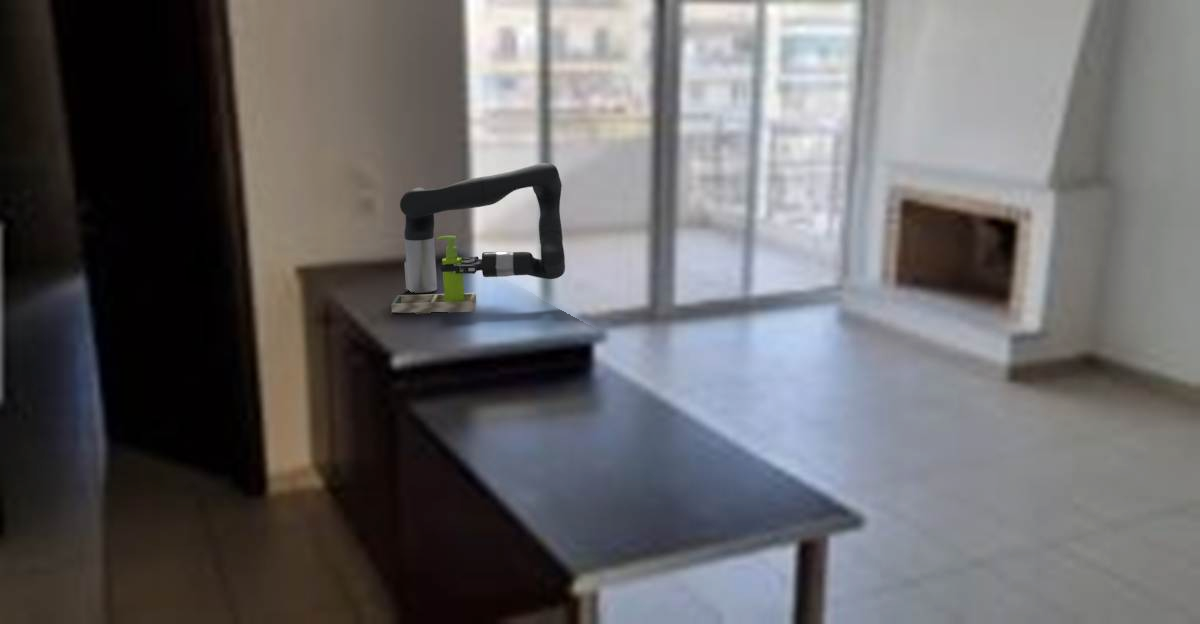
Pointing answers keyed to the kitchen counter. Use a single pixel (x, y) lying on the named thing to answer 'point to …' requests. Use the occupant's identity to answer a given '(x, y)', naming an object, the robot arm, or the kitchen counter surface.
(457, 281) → the soap dispenser
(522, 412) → the kitchen counter surface
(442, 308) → the caddy
